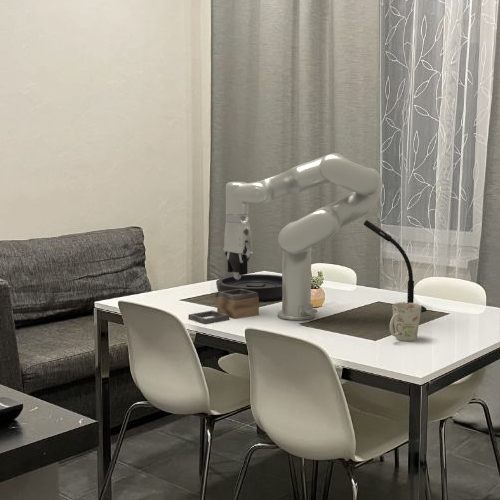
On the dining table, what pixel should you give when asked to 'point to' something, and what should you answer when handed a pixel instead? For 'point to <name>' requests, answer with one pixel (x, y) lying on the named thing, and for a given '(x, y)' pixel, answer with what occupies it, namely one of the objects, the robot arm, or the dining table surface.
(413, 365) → the dining table surface
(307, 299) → the robot arm
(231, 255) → the light bulb
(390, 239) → the microphone
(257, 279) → the round tray
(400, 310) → the mug
